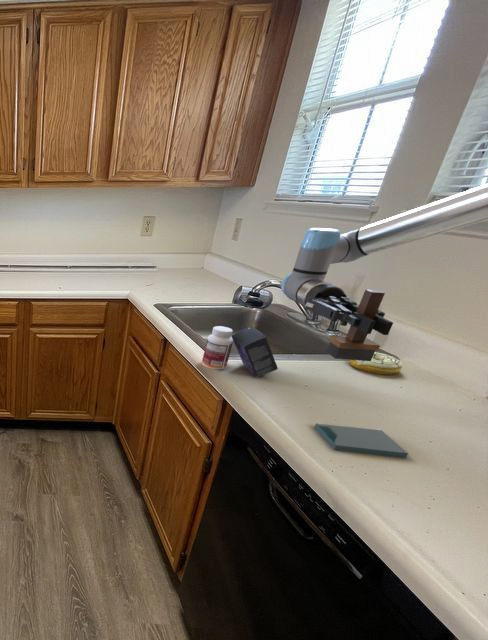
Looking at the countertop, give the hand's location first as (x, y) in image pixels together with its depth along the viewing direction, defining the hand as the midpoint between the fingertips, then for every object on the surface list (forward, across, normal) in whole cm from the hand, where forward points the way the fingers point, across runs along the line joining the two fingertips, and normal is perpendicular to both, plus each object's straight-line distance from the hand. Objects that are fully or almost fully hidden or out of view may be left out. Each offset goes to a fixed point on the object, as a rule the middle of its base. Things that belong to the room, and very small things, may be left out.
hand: (379, 328), depth 85 cm
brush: (-6, 0, -9) cm, 10 cm away
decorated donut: (-28, -21, -20) cm, 41 cm away
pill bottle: (-21, +22, -20) cm, 36 cm away
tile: (+14, +4, -20) cm, 24 cm away
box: (-19, +11, -19) cm, 29 cm away
